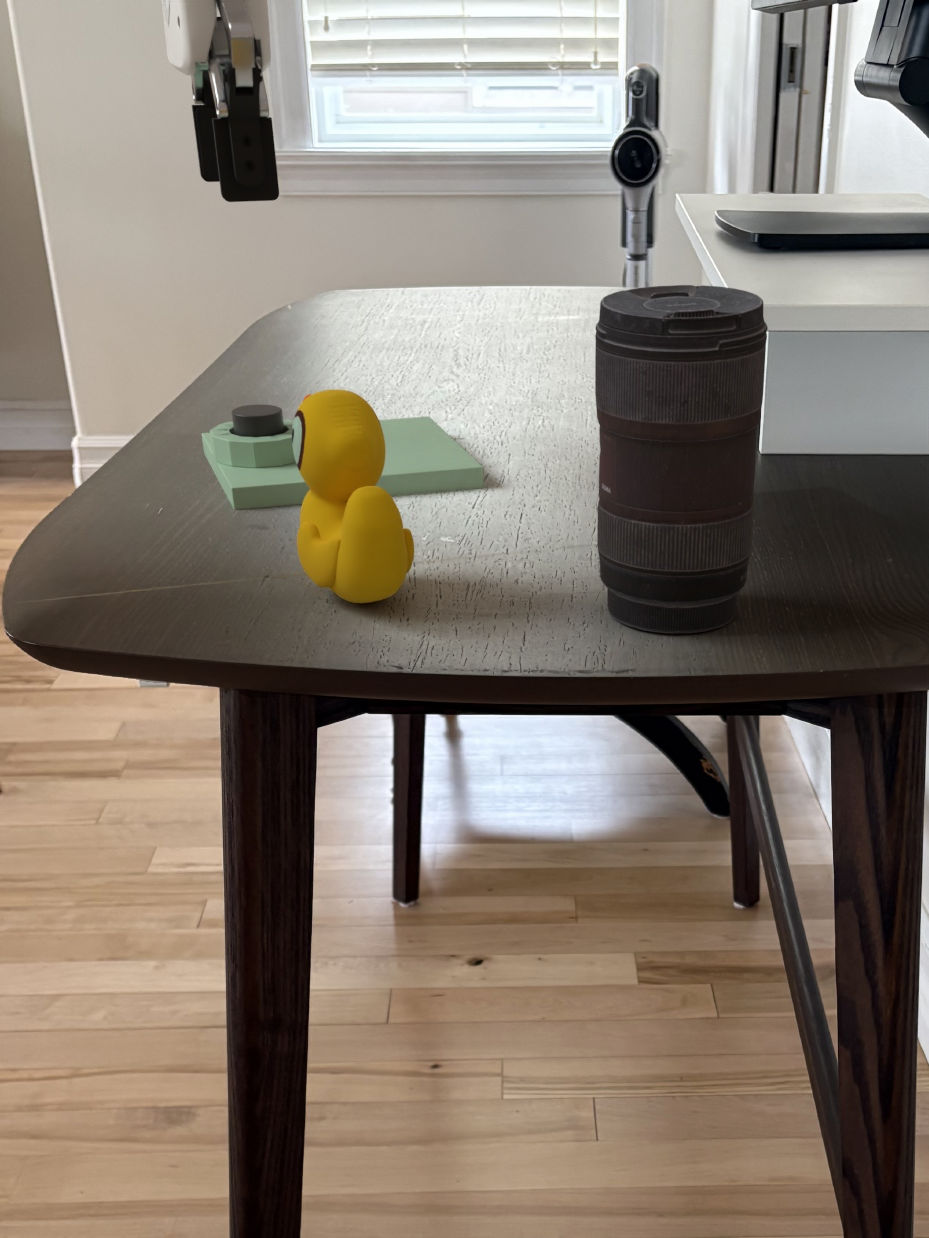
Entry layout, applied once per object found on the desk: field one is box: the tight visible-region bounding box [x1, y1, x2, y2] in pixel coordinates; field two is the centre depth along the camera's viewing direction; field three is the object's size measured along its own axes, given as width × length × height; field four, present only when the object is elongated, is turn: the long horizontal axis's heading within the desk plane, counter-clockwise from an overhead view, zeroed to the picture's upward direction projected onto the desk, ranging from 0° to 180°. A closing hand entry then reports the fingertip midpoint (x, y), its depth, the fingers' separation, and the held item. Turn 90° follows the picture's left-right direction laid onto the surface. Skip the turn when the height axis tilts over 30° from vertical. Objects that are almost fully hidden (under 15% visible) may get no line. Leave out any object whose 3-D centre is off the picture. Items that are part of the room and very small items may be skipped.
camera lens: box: [594, 284, 769, 634], centre depth 75 cm, size 8×8×15 cm
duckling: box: [292, 389, 415, 604], centre depth 78 cm, size 11×5×10 cm, turn 25°
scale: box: [201, 415, 485, 511], centre depth 100 cm, size 16×14×3 cm
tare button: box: [231, 404, 285, 437], centre depth 97 cm, size 3×3×2 cm
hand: (239, 190), depth 89 cm, fingers open, 9 cm apart
